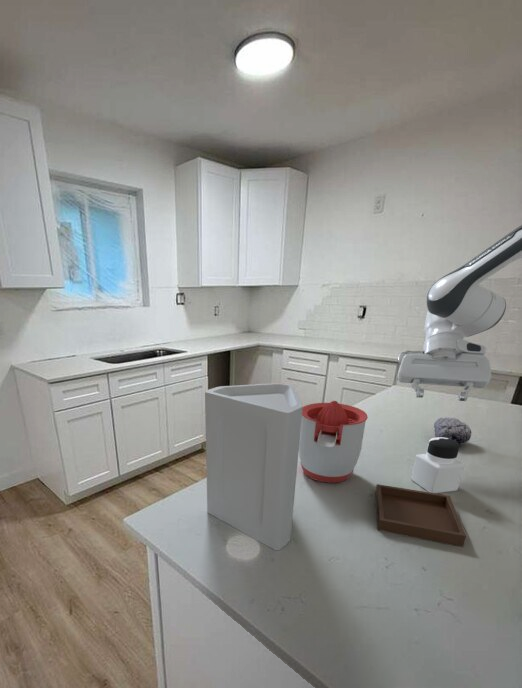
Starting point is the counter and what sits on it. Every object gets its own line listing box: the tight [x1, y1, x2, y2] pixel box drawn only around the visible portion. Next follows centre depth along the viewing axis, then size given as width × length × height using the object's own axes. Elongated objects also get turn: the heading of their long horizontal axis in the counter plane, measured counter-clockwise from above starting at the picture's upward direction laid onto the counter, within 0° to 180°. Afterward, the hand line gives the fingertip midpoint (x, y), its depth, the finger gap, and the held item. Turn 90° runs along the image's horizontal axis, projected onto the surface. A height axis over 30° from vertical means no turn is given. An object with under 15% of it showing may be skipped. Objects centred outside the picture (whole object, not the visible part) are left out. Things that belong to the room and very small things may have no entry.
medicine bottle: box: [410, 437, 465, 494], centre depth 86 cm, size 7×7×12 cm
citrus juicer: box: [298, 400, 369, 484], centre depth 91 cm, size 16×17×20 cm
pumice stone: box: [433, 417, 472, 445], centre depth 109 cm, size 10×8×10 cm
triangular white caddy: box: [204, 382, 304, 551], centre depth 74 cm, size 19×15×28 cm
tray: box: [374, 483, 467, 548], centre depth 77 cm, size 15×15×3 cm
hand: (440, 398), depth 92 cm, fingers open, 8 cm apart
